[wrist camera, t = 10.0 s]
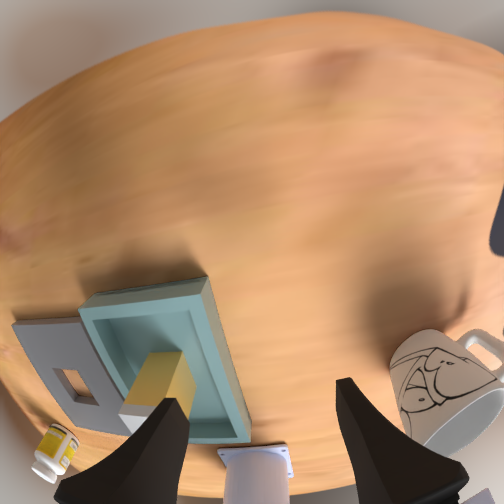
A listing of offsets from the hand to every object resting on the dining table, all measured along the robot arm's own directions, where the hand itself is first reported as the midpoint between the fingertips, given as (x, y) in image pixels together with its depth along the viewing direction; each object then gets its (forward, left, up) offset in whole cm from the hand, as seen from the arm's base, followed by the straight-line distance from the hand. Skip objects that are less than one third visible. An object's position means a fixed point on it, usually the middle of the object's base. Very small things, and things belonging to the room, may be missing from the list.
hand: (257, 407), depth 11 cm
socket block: (-7, +21, -9) cm, 24 cm away
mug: (-8, -15, -10) cm, 20 cm away
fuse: (-5, +8, -9) cm, 13 cm away
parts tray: (-5, +8, -9) cm, 13 cm away
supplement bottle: (-20, +34, -10) cm, 41 cm away
